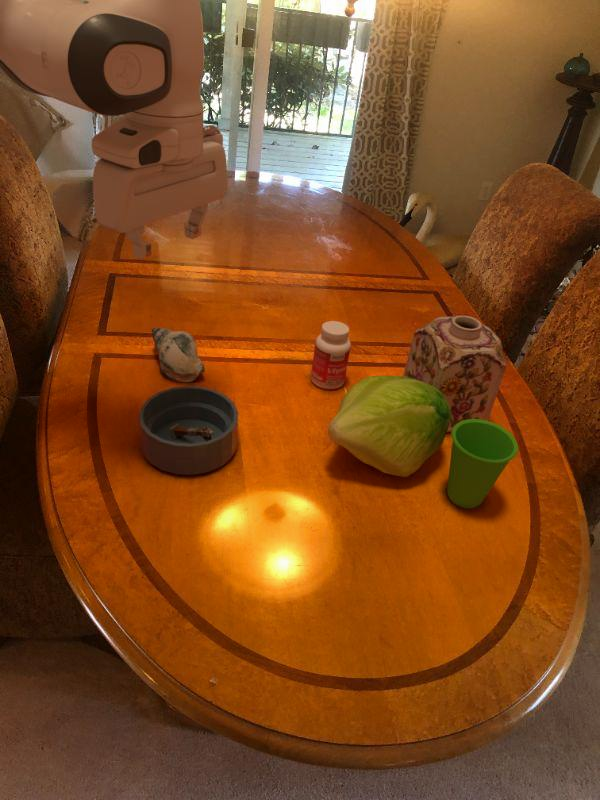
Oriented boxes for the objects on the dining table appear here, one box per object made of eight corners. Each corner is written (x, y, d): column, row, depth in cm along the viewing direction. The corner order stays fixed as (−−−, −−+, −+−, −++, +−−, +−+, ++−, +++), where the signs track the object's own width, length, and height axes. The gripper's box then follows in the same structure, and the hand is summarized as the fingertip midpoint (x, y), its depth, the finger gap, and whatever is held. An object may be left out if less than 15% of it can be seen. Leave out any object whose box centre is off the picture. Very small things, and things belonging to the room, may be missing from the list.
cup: (506, 500, 91) (531, 443, 84) (472, 529, 85) (495, 471, 79) (456, 466, 96) (476, 410, 89) (421, 492, 90) (438, 434, 84)
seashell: (169, 393, 106) (160, 354, 115) (209, 374, 106) (197, 337, 115) (152, 366, 102) (144, 329, 111) (193, 347, 102) (182, 311, 111)
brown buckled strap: (216, 457, 89) (207, 430, 88) (178, 453, 94) (168, 427, 92) (224, 451, 91) (215, 424, 89) (186, 447, 95) (177, 421, 94)
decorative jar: (485, 432, 103) (518, 340, 93) (421, 436, 101) (447, 342, 90) (456, 390, 113) (483, 302, 102) (397, 393, 110) (418, 303, 99)
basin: (193, 492, 86) (193, 460, 82) (120, 449, 91) (117, 417, 88) (254, 441, 96) (257, 411, 92) (185, 405, 101) (185, 375, 98)
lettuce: (300, 450, 95) (312, 366, 91) (405, 440, 105) (420, 363, 100) (349, 495, 83) (365, 401, 79) (462, 480, 93) (483, 394, 88)
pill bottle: (325, 394, 108) (333, 340, 101) (303, 377, 111) (310, 323, 105) (351, 384, 111) (361, 331, 104) (329, 367, 115) (337, 315, 108)
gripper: (203, 117, 81) (202, 219, 89) (78, 142, 67) (91, 261, 75) (241, 128, 79) (236, 232, 87) (120, 155, 64) (129, 277, 72)
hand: (168, 246), depth 81 cm, fingers open, 8 cm apart
